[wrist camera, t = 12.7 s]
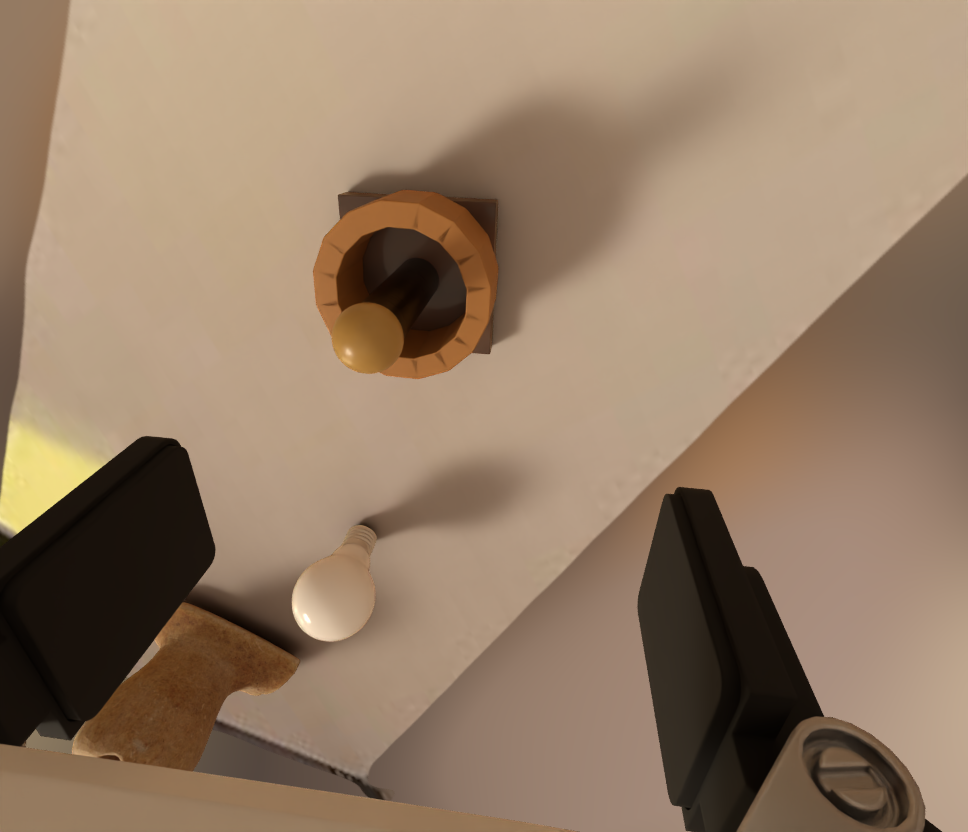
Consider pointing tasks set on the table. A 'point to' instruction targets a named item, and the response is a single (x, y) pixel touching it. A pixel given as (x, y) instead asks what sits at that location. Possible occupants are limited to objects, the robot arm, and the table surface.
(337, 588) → the lightbulb
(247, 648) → the brown boot
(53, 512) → the robot arm
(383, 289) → the hook peg
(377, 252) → the hook base
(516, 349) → the table surface
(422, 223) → the tape roll
